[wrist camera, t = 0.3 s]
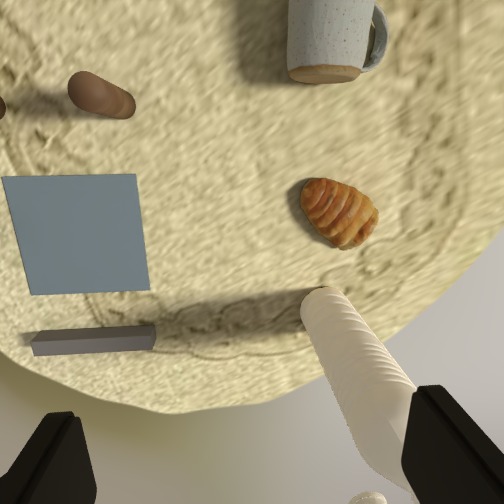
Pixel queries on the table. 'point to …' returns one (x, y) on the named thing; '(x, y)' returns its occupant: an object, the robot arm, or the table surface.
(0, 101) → the post
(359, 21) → the ceramic mug
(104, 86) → the post
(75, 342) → the wall
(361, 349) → the water bottle
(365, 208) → the pastry
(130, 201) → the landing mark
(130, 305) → the table surface
